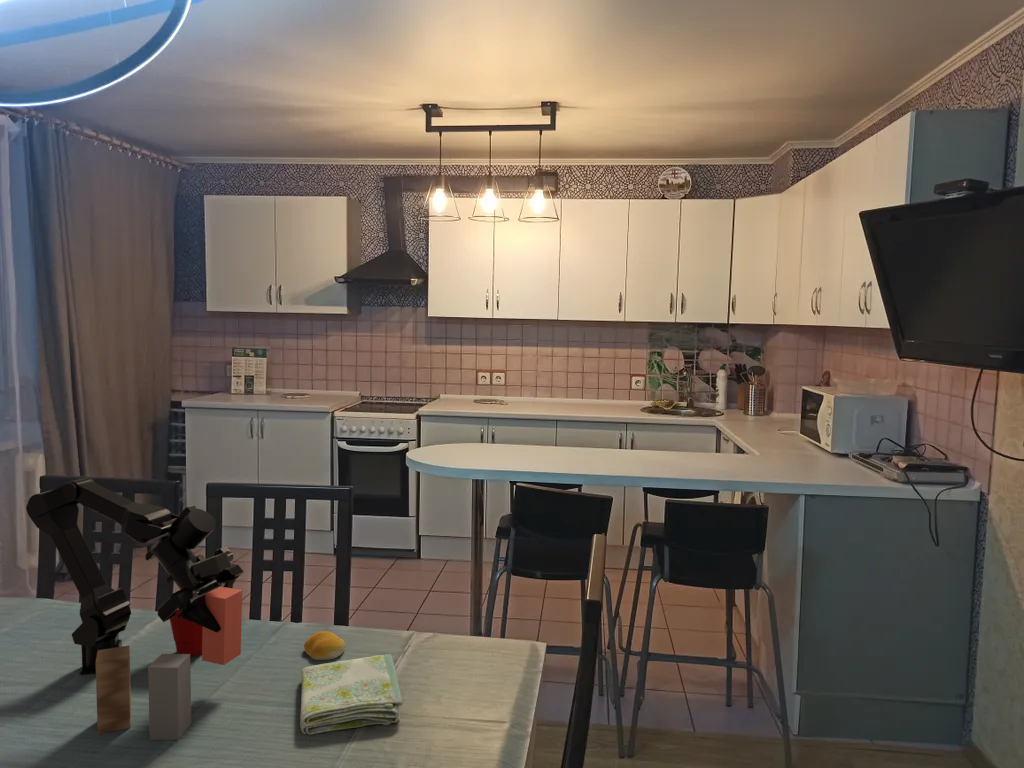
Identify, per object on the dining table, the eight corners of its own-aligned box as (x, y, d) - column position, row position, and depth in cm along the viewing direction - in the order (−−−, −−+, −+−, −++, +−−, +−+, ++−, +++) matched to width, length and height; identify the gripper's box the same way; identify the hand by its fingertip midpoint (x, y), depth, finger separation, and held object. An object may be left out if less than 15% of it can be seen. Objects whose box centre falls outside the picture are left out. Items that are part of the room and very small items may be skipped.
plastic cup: (214, 636, 164) (213, 585, 163) (222, 655, 155) (222, 601, 154) (161, 646, 159) (160, 593, 158) (167, 667, 150) (166, 611, 149)
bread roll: (317, 665, 152) (317, 647, 152) (299, 650, 159) (299, 633, 159) (352, 654, 158) (352, 636, 157) (333, 640, 164) (333, 623, 164)
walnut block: (97, 734, 125) (95, 662, 124) (99, 719, 130) (97, 650, 129) (130, 727, 128) (128, 657, 126) (131, 713, 132) (129, 645, 131)
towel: (298, 740, 126) (298, 712, 125) (301, 681, 146) (301, 657, 146) (403, 727, 130) (403, 700, 130) (392, 672, 151) (392, 648, 150)
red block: (201, 660, 139) (203, 594, 138) (219, 649, 144) (220, 586, 143) (223, 665, 138) (225, 598, 137) (240, 654, 143) (242, 590, 142)
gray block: (149, 739, 124) (148, 667, 123) (163, 723, 129) (161, 653, 128) (178, 740, 124) (177, 667, 123) (191, 723, 129) (190, 654, 128)
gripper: (170, 552, 131) (221, 620, 129) (235, 525, 149) (282, 584, 147) (134, 588, 134) (184, 655, 132) (203, 557, 152) (248, 615, 150)
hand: (228, 625), depth 140 cm, fingers closed on red block, 5 cm apart
